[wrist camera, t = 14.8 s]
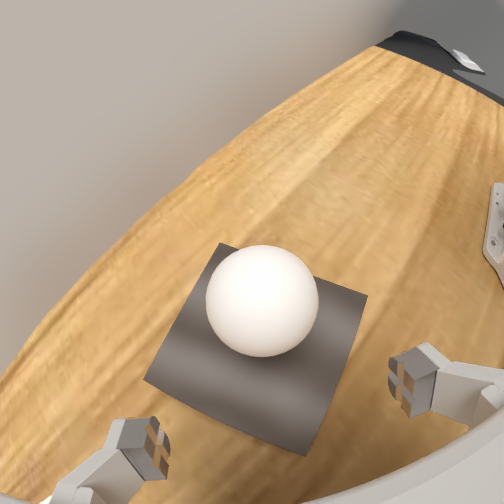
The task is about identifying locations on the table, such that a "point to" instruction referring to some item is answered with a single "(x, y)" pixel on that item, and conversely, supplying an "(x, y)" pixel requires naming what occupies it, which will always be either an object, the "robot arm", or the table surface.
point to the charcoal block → (259, 367)
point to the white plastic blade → (47, 500)
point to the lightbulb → (262, 301)
